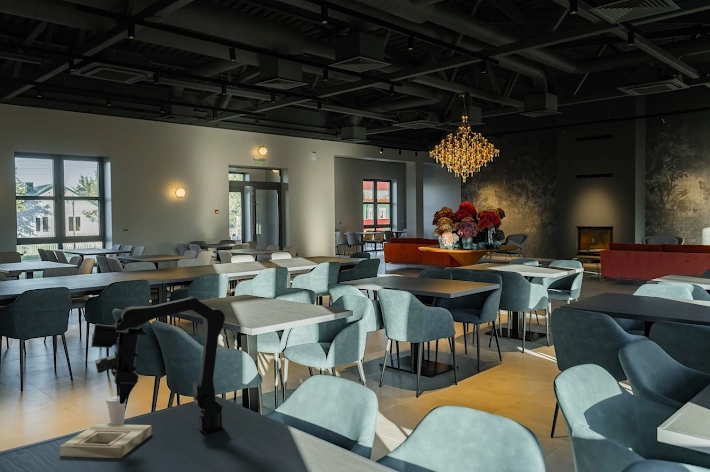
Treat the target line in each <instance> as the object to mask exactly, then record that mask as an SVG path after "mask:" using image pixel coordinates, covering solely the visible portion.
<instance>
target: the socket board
mask: <svg viewBox="0 0 710 472" xmlns="http://www.w3.org/2000/svg"><path fill="white" fill-rule="evenodd" d="M152 432H153V431H152V425H149V424H124V425H121V424H111V423H95V424H94V425H92V426H91V427H89V428H87V429H86V430H84V431H82V432H81V433H79V434H77V435H75V436H74V437H73V438H71V439H69V440H68V441H66V442H64V443H62V444H61V445H59V454H60V455H59V456H60V457H75V458H76V457H80V458H107V459H121V458H123V457H124V456H125V455H127V454H128V453H129V452H131V451H132V450H133V449H134V448H136V447H137V446H138V445H140V444H141V443H142V442H144V441H145V440H146V439H148V438H149V437H151V436H152V434H153V433H152Z"/></svg>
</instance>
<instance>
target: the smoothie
mask: <svg viewBox="0 0 710 472" xmlns="http://www.w3.org/2000/svg"><path fill="white" fill-rule="evenodd" d="M127 399H128V398H127ZM127 399H126V401H128V400H127ZM105 401H106V402H105V403H106V404H107V409H108V415H109V420H110V421H109V422H110V424H121V425H125V424H124V423H125V411H126V403H127V402H126V401H125V402H124V404H120V399H119V396H117V395H113V396H110V397H108V398H106V399H105Z"/></svg>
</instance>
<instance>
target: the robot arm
mask: <svg viewBox="0 0 710 472" xmlns="http://www.w3.org/2000/svg"><path fill="white" fill-rule="evenodd" d="M189 311H193V312H194V313H197V314H198V315H199V316H201V317H202V325H203V331H204V341H203V347H202V348H203V349H202V357H201V364H200V365H201V366H200V375H199V379H198V380H197V382H193V383H192V393H191V396H192V398H193V399H192V400H193V401H194V402H195V403H196V406H198V407H199V408H200V409H201V410H200V411H199V416H198V429H199V430H200V431H201V432H203V433H204V434H206V435H207V434H211V433H215V432H219V431H223V430H225V426H223V414H222V413H223V405H222V404H221V403H220V402H219V401H218V400H217V399H216V389H215V385H214V376H215V368H216V367H215V366H216V359H217V350H218V341H219V338H220V337H219V336H220V334H221V332H222V330H223V327H224V323H225V321H226V316H225V313H224V312H223V311H222V310H220V309H219V308H217V307H215V306H214V307H213V306H212V307H210V306H208V305H206V304H205V303H203V302H201V301H200V300H199V299H198V298H197V297H195V296H188V297H186V298H180V299H177V300H173V301H168V302H163V303H159V304H154V305H138V306H137V305H134V306H128V307H125V308H123V310H122V311H121V314H120V317H119V318H118V319H117V320H116V321H115V322H114V323H113V324H112V325H109V324H108V325H106V324H100V323H96V324H94V329H93V333H92V334H91V335H92V336H91V343H90V346H91V347H90V348H104V349H105V348H107V349H112V348H113V346H115V345H117V347H116V348H117V349H116V350H115V351H114V354H113V355H110V356H105V357H102V358H99V359H95V360H94V363H95V367H96V370H97V373H98V374H101V373H104V372H106V371H109V370H110V372H111V374H112V375H113V377H114V384H115V385H116V386H115V387H116V396H119V399H120V404H124V402H125V401H127V400H126V399H128V397H129V396H130V394H131V392H132V390H133V389H134V388H135V386H136V385H137V383H139V375H138V373H137V372H136V368H137V367H136V360H137V357H138V346H139V338H140V336H146V335H147V332H146V331H145V330H144V329H143V326H142V325H144V324H146V323H148V322H151V321H152V320H154V319H158V318H162V317H166V316H170V315H171V316H172V315H175V314H179V313H185V312H189ZM117 341H118V342H117Z"/></svg>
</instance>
